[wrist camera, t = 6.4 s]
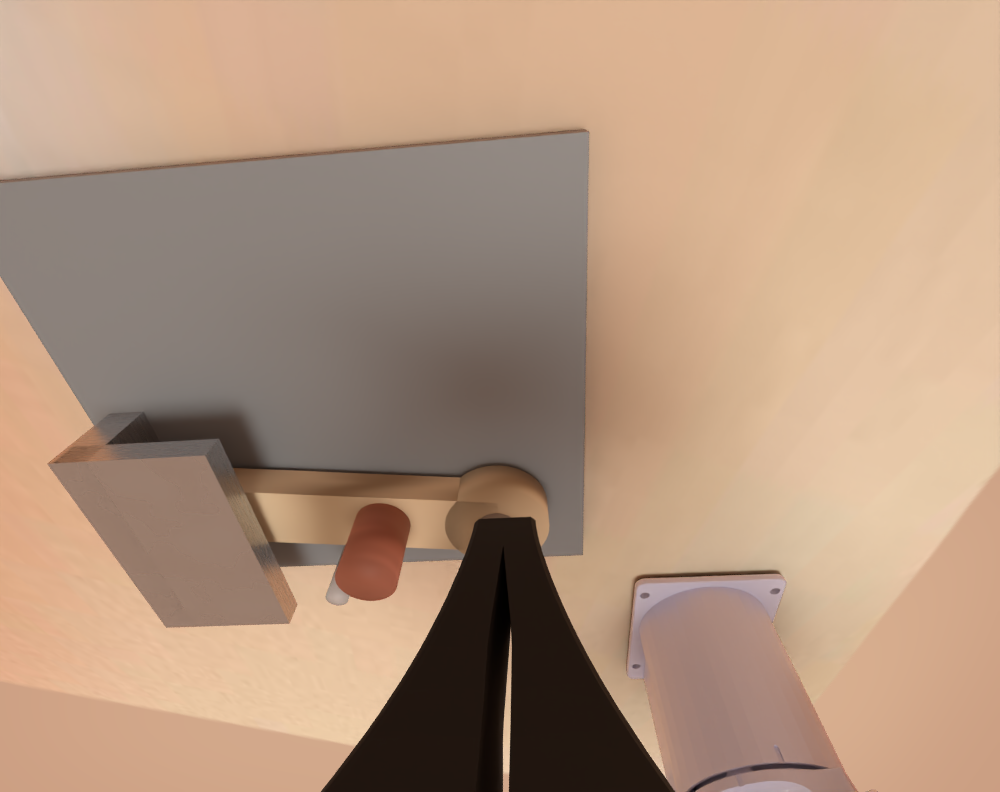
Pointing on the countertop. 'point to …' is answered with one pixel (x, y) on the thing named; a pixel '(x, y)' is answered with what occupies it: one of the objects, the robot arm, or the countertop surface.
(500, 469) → the latch
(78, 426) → the countertop surface
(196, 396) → the board
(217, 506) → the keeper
